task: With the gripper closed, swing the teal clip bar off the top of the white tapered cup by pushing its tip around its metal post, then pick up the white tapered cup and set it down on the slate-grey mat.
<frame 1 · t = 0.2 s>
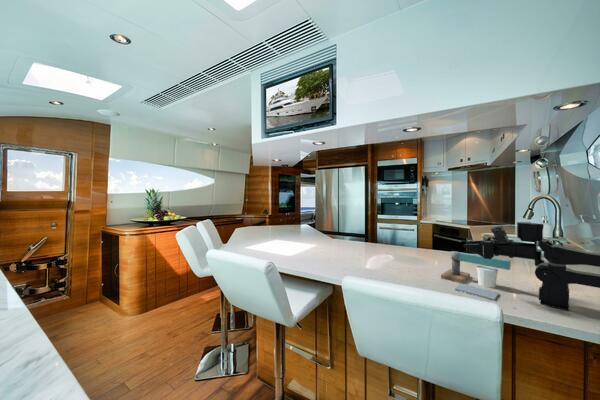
hand: (466, 244, 97), 16 cm above the table, tool horizontal, fingers open, 9 cm apart
clip bar: (478, 259, 98), point 10 cm above the table, hinge at 0.0°
slate mat: (476, 292, 89), on the table
white tapered cup: (486, 285, 96), on the table
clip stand: (455, 277, 104), on the table
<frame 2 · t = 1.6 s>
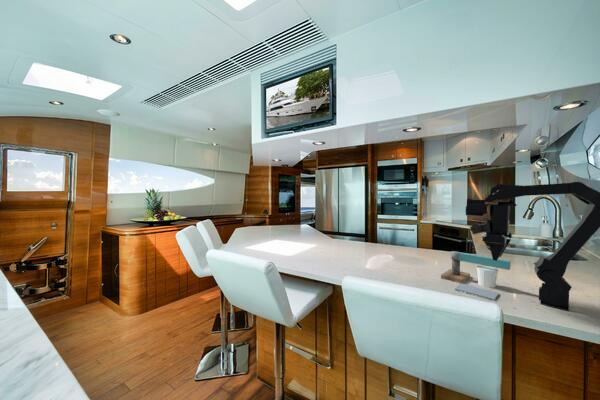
hand: (497, 258, 88), 13 cm above the table, tool pointing down, fingers open, 8 cm apart
nothing on the table moved.
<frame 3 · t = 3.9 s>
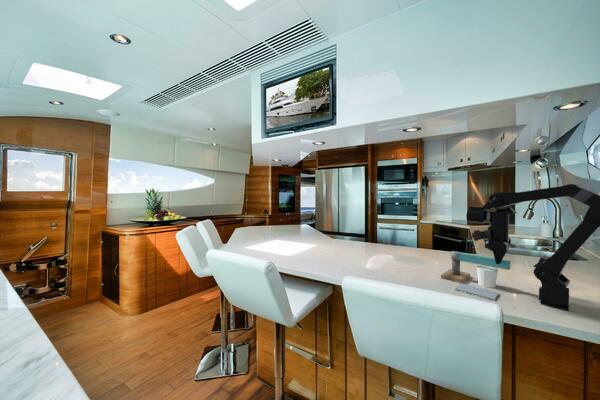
hand: (497, 264, 91), 10 cm above the table, tool pointing down, fingers closed
clip bar: (478, 259, 98), point 10 cm above the table, hinge at 0.0°, touching gripper
everything else where it was.
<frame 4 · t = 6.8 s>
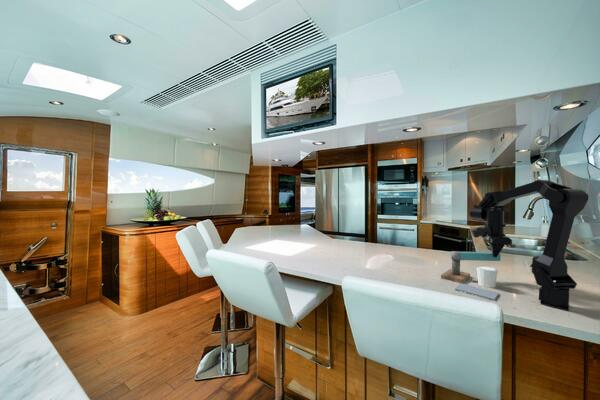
hand: (494, 257, 101), 10 cm above the table, tool pointing down, fingers closed
clip bar: (475, 256, 103), point 10 cm above the table, hinge at 45.3°, touching gripper
everything else where it was.
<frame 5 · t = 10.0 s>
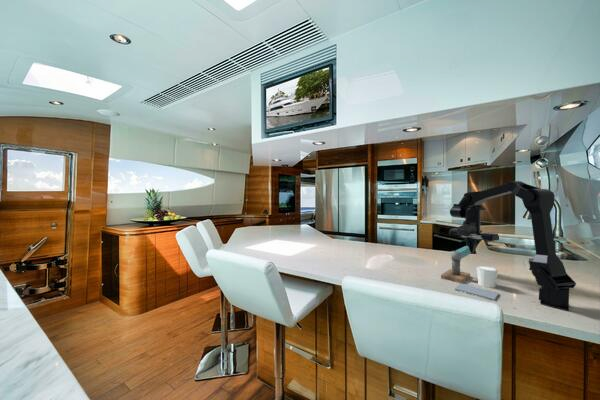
hand: (472, 252, 109), 10 cm above the table, tool pointing down, fingers closed
clip bar: (461, 252, 109), point 10 cm above the table, hinge at 88.5°
everything else where it was.
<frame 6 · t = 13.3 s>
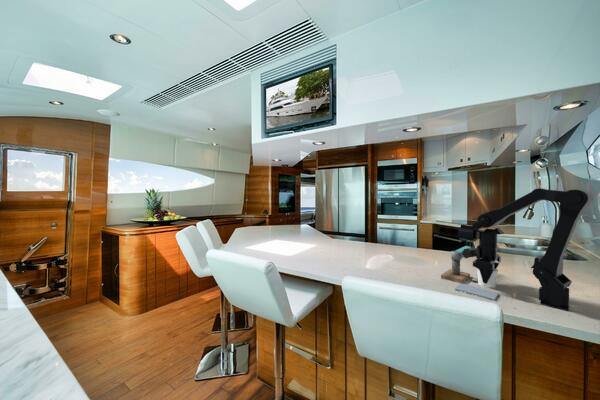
hand: (486, 281, 96), 2 cm above the table, tool pointing down, fingers closed on white tapered cup, 6 cm apart
white tapered cup: (486, 285, 96), on the table, touching gripper
everything else where it was.
when the fingers open (4 cm above the table, at t = 18.0 s): white tapered cup stays where it is, resting on slate mat.
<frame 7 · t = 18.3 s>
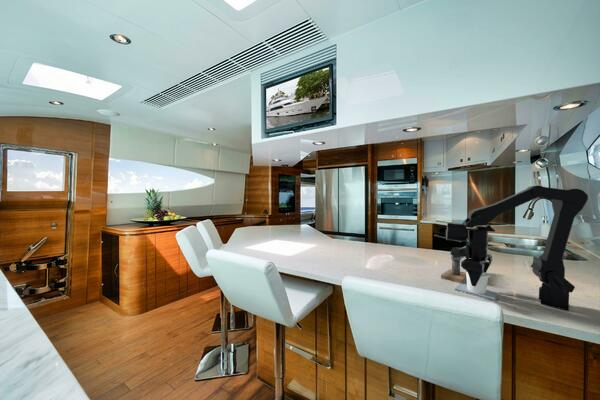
hand: (476, 282, 89), 4 cm above the table, tool pointing down, fingers open, 9 cm apart
white tapered cup: (476, 291, 89), resting on slate mat
everything else where it was.
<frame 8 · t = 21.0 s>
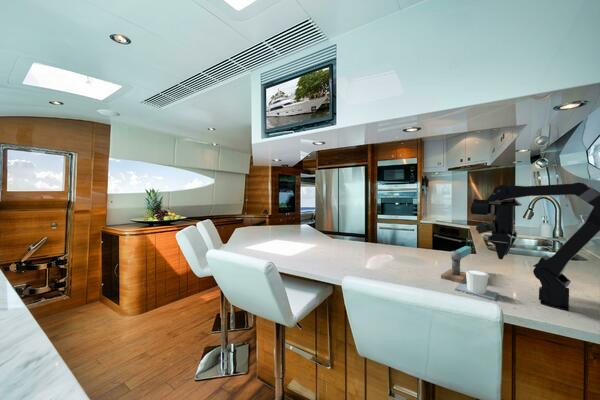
hand: (502, 257, 90), 13 cm above the table, tool pointing down, fingers open, 9 cm apart
nothing on the table moved.
at the end: white tapered cup inside the target area (0.0 cm from its centre), resting on slate mat; white tapered cup tilted 0°; clip bar at +89° (first picture: +0°) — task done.
